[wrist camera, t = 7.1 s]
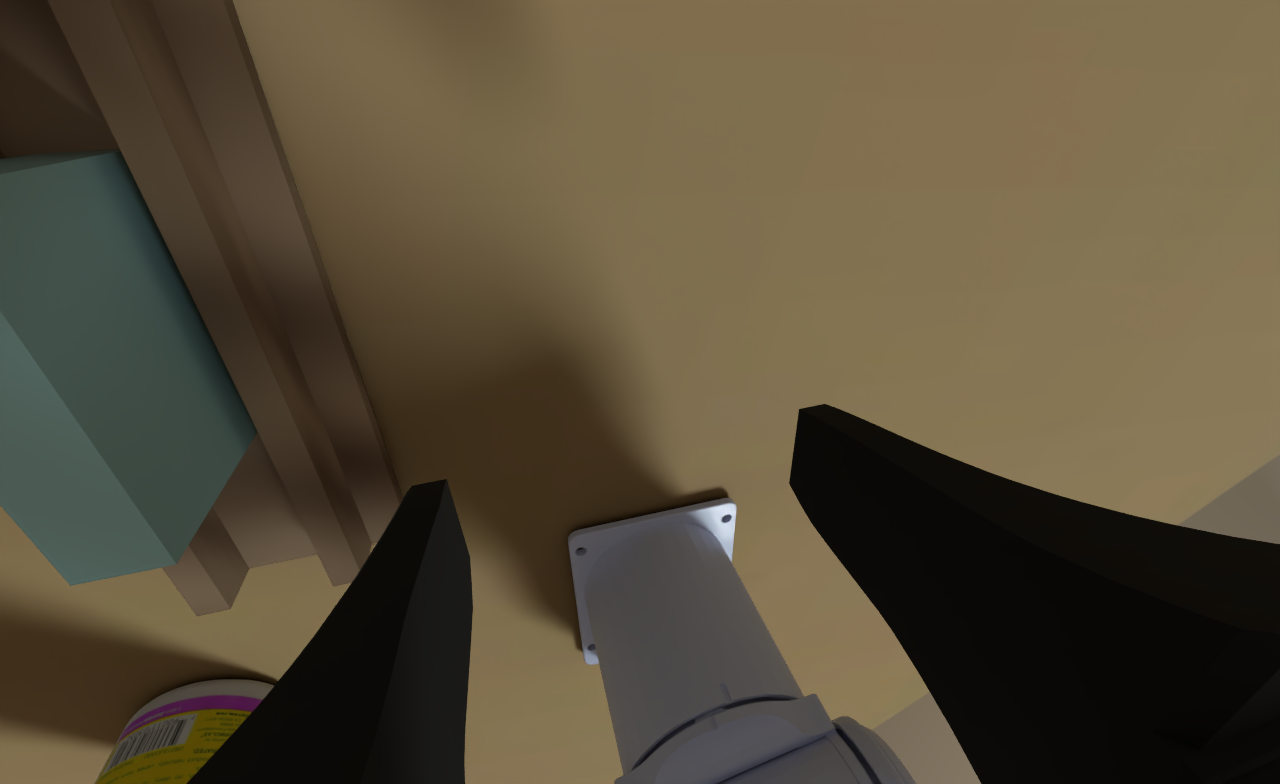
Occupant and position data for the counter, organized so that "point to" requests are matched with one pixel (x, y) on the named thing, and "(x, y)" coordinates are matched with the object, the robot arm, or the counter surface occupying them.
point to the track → (217, 264)
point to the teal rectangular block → (104, 374)
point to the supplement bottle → (180, 731)
